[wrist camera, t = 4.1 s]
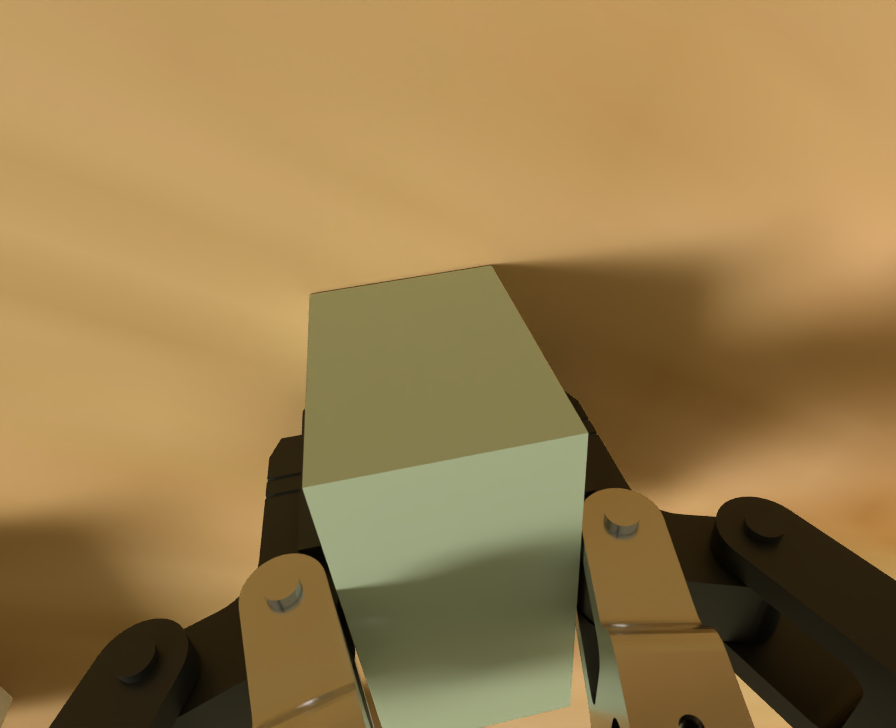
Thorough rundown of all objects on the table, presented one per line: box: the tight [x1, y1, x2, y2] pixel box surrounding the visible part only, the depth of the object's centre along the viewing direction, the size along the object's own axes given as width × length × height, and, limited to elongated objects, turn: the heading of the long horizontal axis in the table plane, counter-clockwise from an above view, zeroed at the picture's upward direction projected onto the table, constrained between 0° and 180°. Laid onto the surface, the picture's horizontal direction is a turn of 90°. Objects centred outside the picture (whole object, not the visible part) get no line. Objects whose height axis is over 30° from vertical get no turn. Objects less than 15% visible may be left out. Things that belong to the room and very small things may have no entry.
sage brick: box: [302, 265, 588, 728], centre depth 11 cm, size 7×4×5 cm, turn 5°
